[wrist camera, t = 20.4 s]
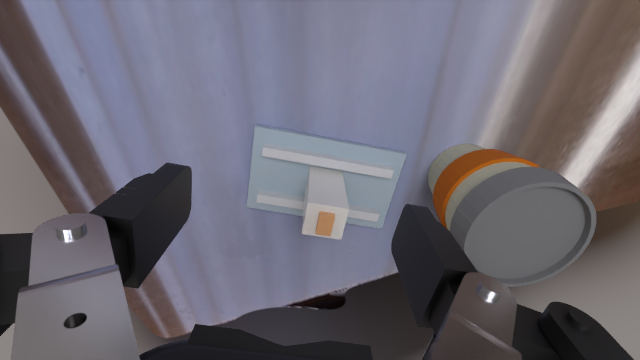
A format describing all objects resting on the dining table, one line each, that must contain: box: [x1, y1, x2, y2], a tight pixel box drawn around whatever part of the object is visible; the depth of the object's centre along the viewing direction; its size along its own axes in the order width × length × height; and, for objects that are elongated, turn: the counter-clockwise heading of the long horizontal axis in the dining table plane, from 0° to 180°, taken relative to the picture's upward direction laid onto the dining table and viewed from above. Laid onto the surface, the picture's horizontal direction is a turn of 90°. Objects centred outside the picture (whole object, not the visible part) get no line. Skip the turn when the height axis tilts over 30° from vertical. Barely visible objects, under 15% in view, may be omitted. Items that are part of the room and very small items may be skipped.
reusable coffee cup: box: [428, 144, 596, 287], centre depth 35 cm, size 13×12×15 cm
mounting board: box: [246, 124, 407, 229], centre depth 41 cm, size 20×12×2 cm, turn 79°
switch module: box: [302, 165, 349, 240], centre depth 36 cm, size 4×4×11 cm
